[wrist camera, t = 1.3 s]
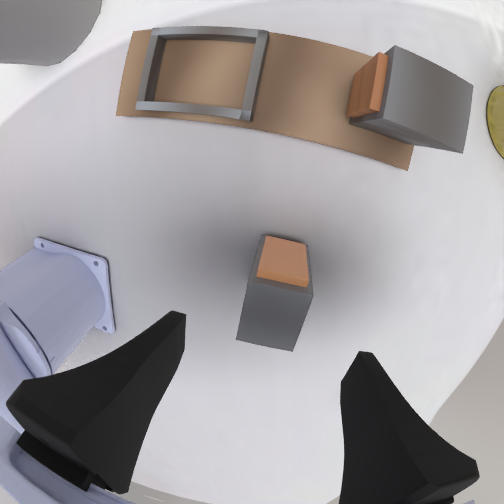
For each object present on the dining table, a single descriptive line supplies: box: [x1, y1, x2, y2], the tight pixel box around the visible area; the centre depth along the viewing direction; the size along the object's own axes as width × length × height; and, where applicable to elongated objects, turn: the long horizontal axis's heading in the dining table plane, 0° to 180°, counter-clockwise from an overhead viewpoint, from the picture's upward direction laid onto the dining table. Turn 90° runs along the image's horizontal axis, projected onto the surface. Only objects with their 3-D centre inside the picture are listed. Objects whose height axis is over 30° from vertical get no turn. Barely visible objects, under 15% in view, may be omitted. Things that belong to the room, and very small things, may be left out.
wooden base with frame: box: [116, 26, 473, 171], centre depth 11 cm, size 18×6×7 cm, turn 80°
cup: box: [0, 0, 102, 66], centre depth 8 cm, size 8×8×10 cm
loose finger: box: [236, 235, 313, 352], centre depth 16 cm, size 4×3×6 cm
